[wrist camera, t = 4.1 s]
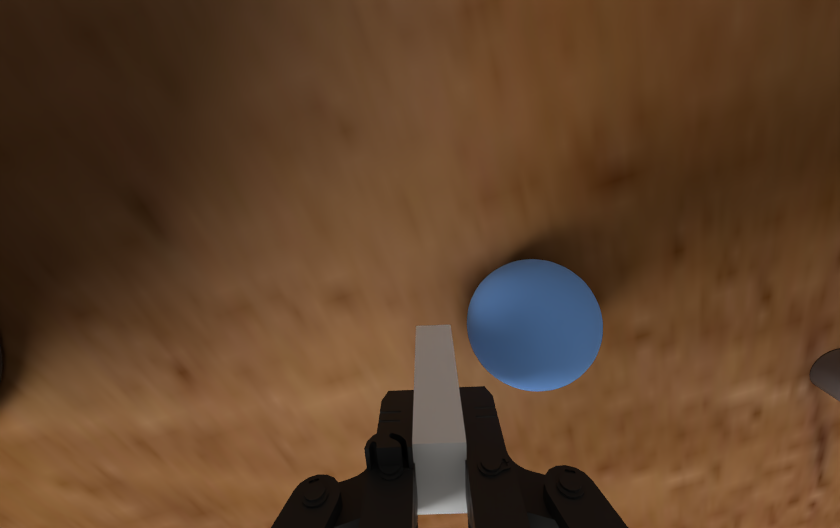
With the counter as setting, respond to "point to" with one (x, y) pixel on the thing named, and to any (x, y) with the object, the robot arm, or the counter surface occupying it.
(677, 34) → the counter surface
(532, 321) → the ball
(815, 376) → the post
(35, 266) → the counter surface
